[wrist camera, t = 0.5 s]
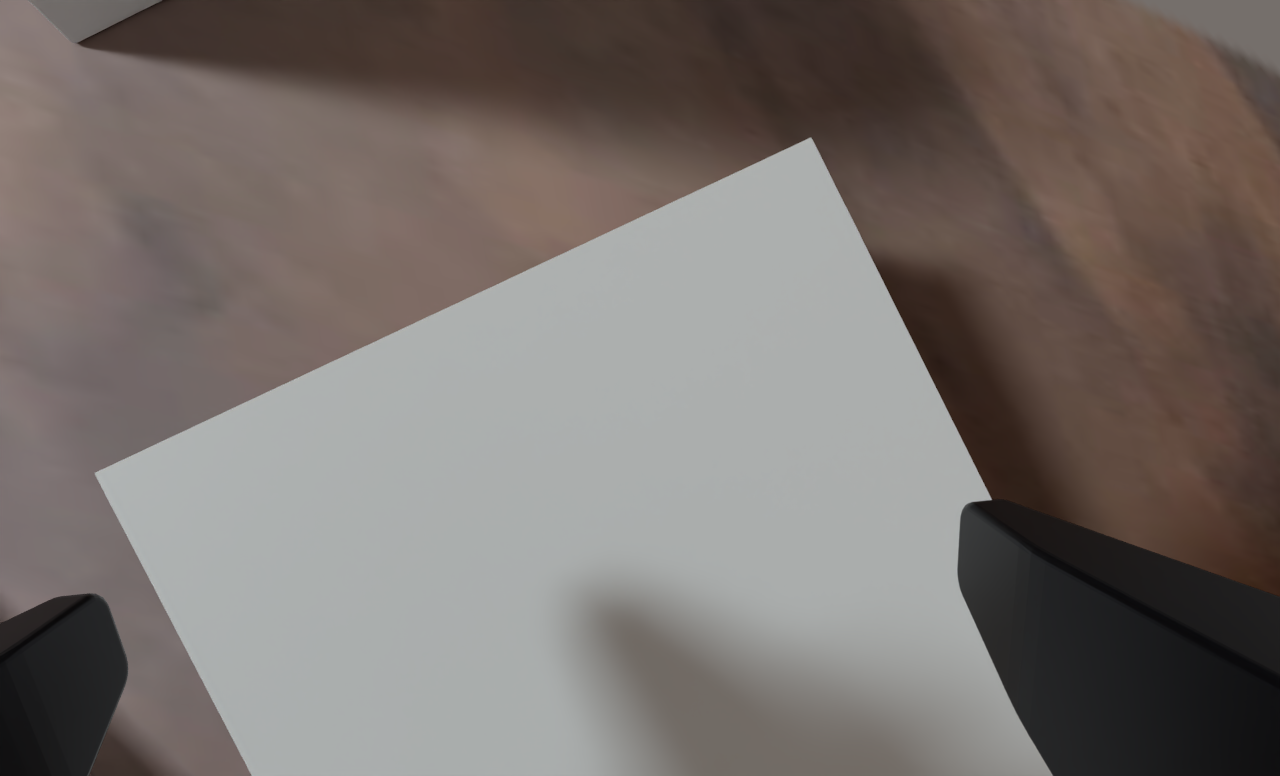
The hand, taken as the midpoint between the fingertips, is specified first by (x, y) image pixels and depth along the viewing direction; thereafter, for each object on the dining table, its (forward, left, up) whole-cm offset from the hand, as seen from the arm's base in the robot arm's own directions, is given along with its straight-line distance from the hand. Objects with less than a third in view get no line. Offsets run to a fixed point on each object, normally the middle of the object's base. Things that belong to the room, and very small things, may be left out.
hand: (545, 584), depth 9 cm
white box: (-3, -1, -13) cm, 14 cm away
